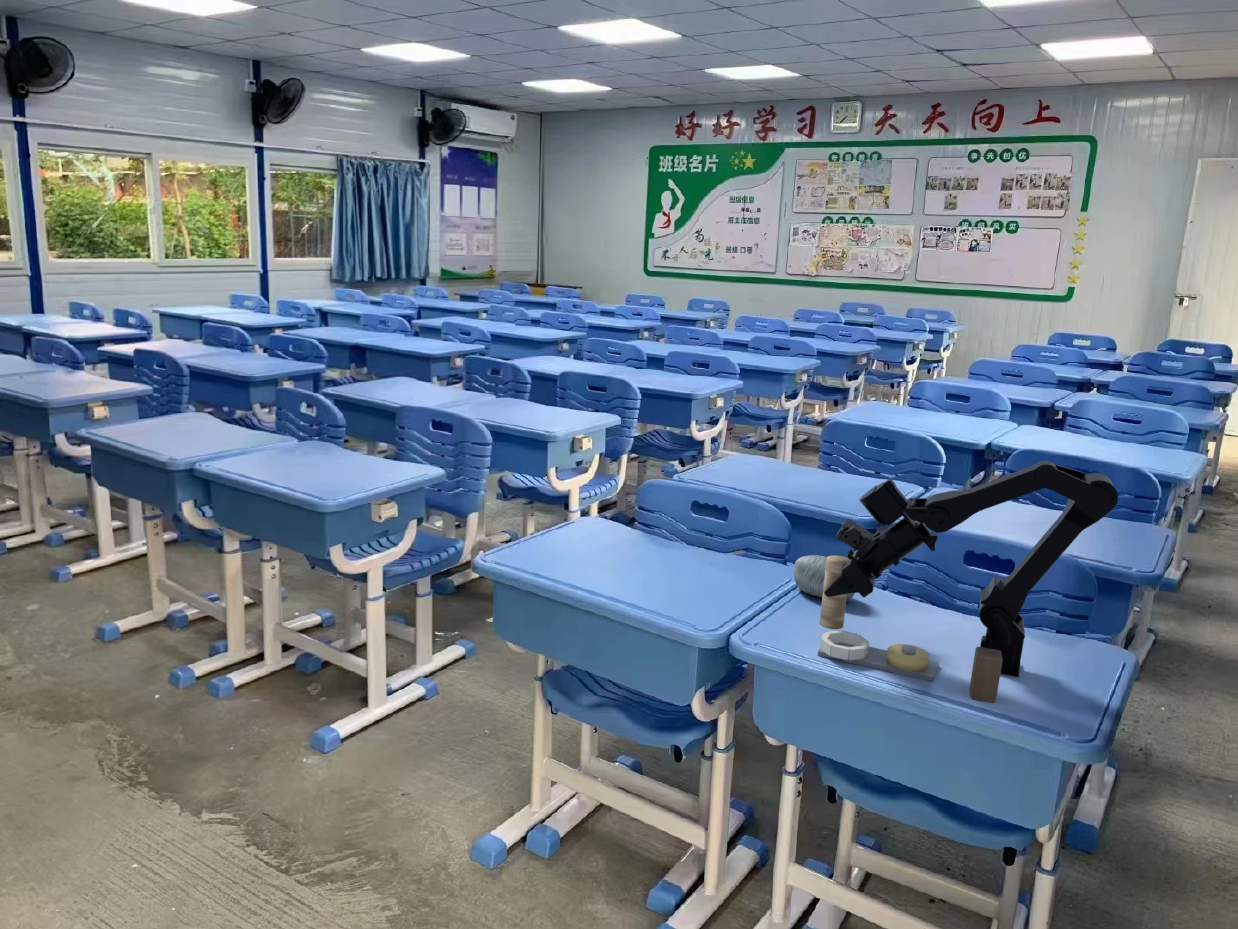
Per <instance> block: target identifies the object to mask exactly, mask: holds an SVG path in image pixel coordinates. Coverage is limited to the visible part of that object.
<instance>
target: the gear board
mask: <svg viewBox="0 0 1238 929" xmlns="http://www.w3.org/2000/svg"><path fill="white" fill-rule="evenodd" d="M817 656H819V657H822V658H823V657H824V658H828V659H833V660H837V661H842V662H846V663H850V664H854V665H859V666H864V667H867V668H870V669H871V668H872V669H876V670H881V671H885V672H890V673H894V674H898V675H903V676H907V677H911V676H912V678H916V679H920V680H924V681H930V682H934V681H935V677H936V674H937V671H938V667H939V663H940V662H939V661H937V660H932V659H930V654H929V653H928V651H927V650H925V649H923V648H921V647H919V646H916V645H912V644H906V643H896V644H895V643H894V644H892V645H889V646H888V648H887V650H886V649H882V648H877V647H872V646H870V641H869V640H868V639H867V638H865V637H863V636H862V635H861V634H858V633H857V632H856V633H855V632H851V631H846V630H842V629H836V630H829V631H828V630H827V631H826V632H824V633H823V634H822V636H821V637H820V644H819V649H818V650H817Z"/></svg>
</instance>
